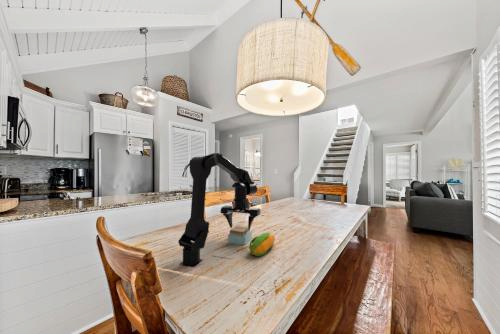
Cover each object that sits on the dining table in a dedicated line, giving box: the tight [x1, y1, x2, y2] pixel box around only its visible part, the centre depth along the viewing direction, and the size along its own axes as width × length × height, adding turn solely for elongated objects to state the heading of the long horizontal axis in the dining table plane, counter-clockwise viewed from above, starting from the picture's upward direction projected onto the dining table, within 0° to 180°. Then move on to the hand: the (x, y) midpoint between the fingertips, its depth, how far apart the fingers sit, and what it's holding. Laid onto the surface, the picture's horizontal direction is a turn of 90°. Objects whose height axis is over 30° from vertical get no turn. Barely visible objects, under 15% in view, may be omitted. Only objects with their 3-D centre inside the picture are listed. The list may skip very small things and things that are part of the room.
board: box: [229, 224, 249, 236], centre depth 99 cm, size 10×6×2 cm, turn 162°
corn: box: [248, 232, 276, 257], centre depth 88 cm, size 7×8×20 cm
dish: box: [227, 229, 253, 246], centre depth 99 cm, size 10×9×4 cm
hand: (240, 228), depth 99 cm, fingers open, 9 cm apart
